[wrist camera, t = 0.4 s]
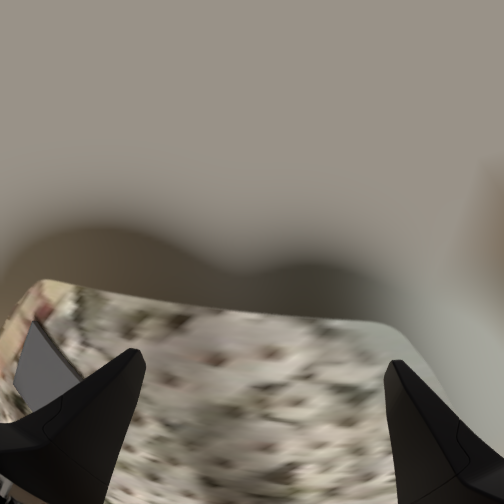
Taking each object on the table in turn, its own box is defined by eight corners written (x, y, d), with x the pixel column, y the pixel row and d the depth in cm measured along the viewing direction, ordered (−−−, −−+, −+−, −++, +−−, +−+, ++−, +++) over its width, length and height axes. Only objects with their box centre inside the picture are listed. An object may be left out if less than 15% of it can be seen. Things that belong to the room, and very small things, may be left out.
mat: (101, 398, 24) (97, 400, 24) (71, 451, 24) (68, 453, 23) (36, 320, 27) (32, 321, 26) (16, 383, 26) (12, 383, 25)
